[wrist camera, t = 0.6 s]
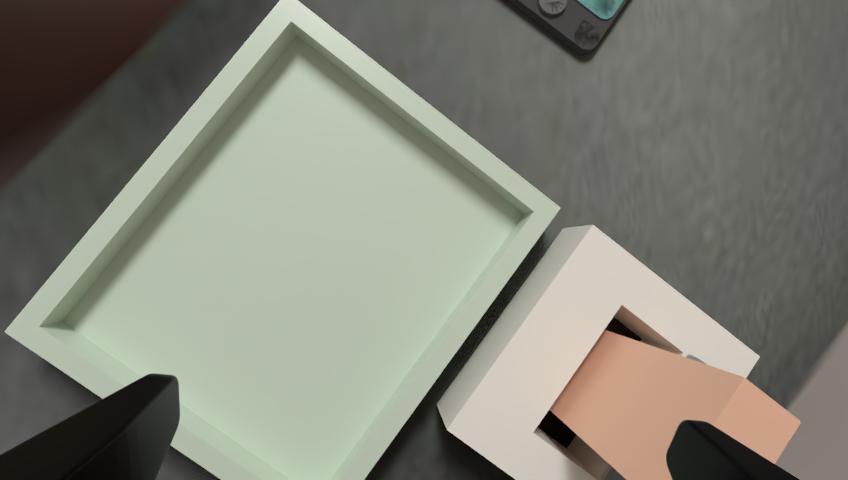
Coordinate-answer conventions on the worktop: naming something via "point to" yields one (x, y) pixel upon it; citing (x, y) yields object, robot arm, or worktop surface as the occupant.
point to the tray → (291, 260)
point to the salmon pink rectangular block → (662, 406)
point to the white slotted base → (570, 352)
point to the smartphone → (573, 19)
